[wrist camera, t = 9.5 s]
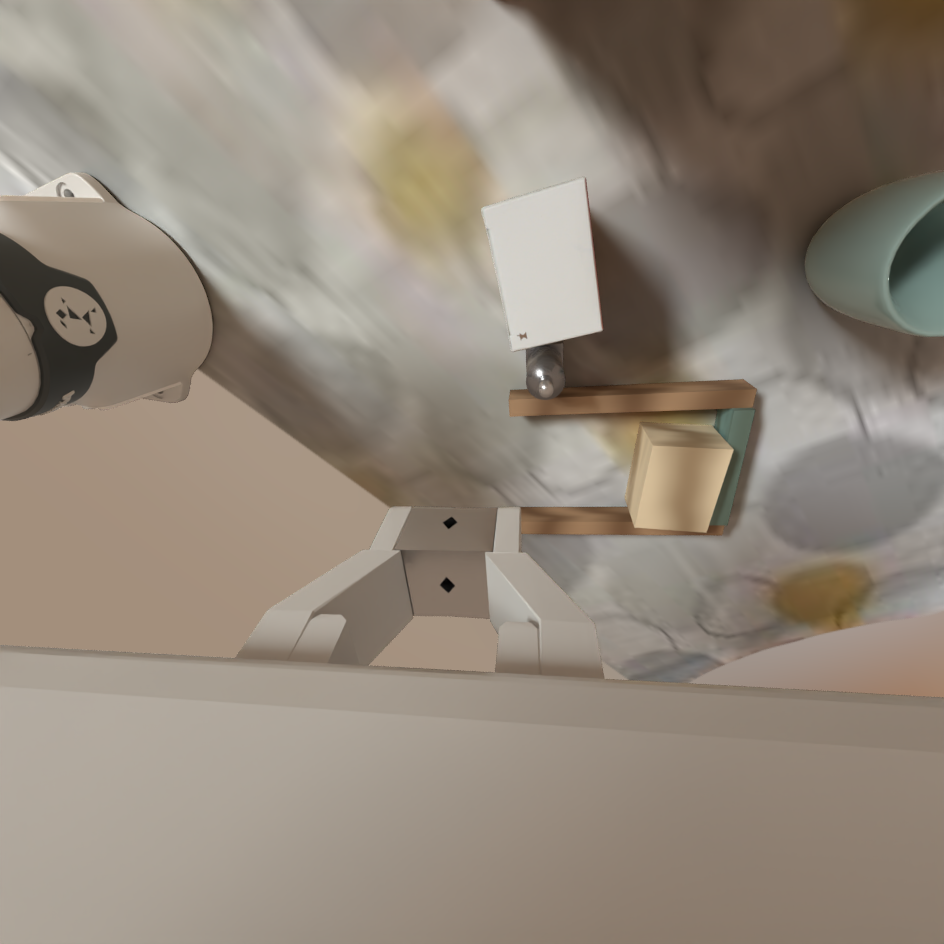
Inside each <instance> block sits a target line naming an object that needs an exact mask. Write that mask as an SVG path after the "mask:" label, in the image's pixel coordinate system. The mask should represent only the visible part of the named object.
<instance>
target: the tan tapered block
mask: <svg viewBox="0 0 944 944" xmlns="http://www.w3.org/2000/svg"><path fill="white" fill-rule="evenodd" d="M733 450H734V449H733V448H732V447H731V446H730V445H729V444H728V443H727V442H726V441H725V439H724V438H723V437H722V436H721V435H720V434H719V433H718V432H717V431H716V429H715V428H714V427H713V426H712V425H696V424H673V423H650V422H640V425H639V429H638V434H637V439H636V444H635V449H634V454H633V459H632V464H631V469H630V474H629V479H628V484H627V489H626V494H625V500H626V503H627V506H628V509H629V512H630V515H631V518H632V521H633V524H634V528H647V529H661V530H675V531H689V532H703V533H707V530H708V527H709V524H710V520H711V517H712V514H713V511H714V508H715V505H716V502H717V499H718V496H719V493H720V490H721V487H722V484H723V481H724V478H725V475H726V472H727V469H728V466H729V463H730V460H731V457H732V453H733Z"/></svg>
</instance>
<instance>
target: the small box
mask: <svg viewBox="0 0 944 944" xmlns="http://www.w3.org/2000/svg"><path fill="white" fill-rule="evenodd" d="M481 212H482V216H483V220H484V224H485V227H486V231H487V235H488V240H489V244H490V248H491V253H492V257H493V262H494V267H495V272H496V276H497V281H498V286H499V290H500V295H501V300H502V305H503V310H504V315H505V319H506V325H507V331H508V337H509V343H510V349H511V352H515V351H519V350H524V349H528V348H532V347H537V346H541V345H545V344H549V343H554V342H558V341H562V340H567V339H571V338H575V337H580V336H584V335H588V334H593V333H597V332H601V331H603V321H602V313H601V304H600V295H599V286H598V278H597V269H596V260H595V252H594V243H593V235H592V226H591V218H590V208H589V200H588V191H587V183H586V178H585V177H580V178H577V179H573V180H570V181H567V182H563V183H560V184H556V185H553V186H550V187H547V188H543V189H540V190H537V191H533V192H530V193H527V194H523V195H520V196H517V197H514V198H510V199H507V200H504V201H501V202H498V203H494V204H491V205H488V206H485V207H483V208H482V210H481Z"/></svg>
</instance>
